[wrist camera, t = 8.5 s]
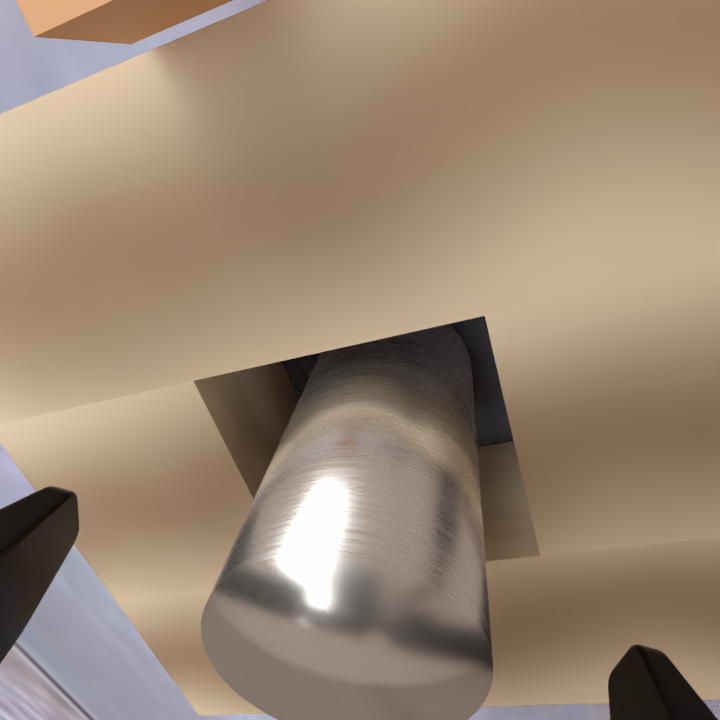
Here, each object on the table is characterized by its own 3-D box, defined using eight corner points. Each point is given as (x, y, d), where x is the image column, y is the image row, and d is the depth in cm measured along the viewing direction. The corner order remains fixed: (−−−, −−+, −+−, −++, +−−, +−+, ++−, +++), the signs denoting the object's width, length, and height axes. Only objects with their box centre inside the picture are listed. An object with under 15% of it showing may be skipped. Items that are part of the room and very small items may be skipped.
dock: (736, 555, 15) (819, 696, 12) (243, 601, 20) (198, 715, 16) (723, -136, 9) (902, -270, 5) (-15, 158, 13) (-183, 191, 10)
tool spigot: (504, 375, 14) (559, 684, 7) (396, 456, 16) (353, 769, 9) (392, 269, 13) (325, 502, 6) (291, 368, 15) (148, 638, 8)
